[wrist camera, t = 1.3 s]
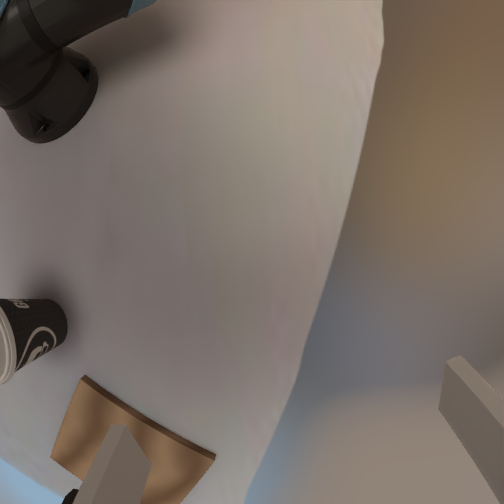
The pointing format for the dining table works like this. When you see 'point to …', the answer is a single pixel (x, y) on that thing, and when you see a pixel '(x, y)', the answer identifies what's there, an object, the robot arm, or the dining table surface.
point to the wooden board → (145, 433)
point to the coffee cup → (28, 332)
